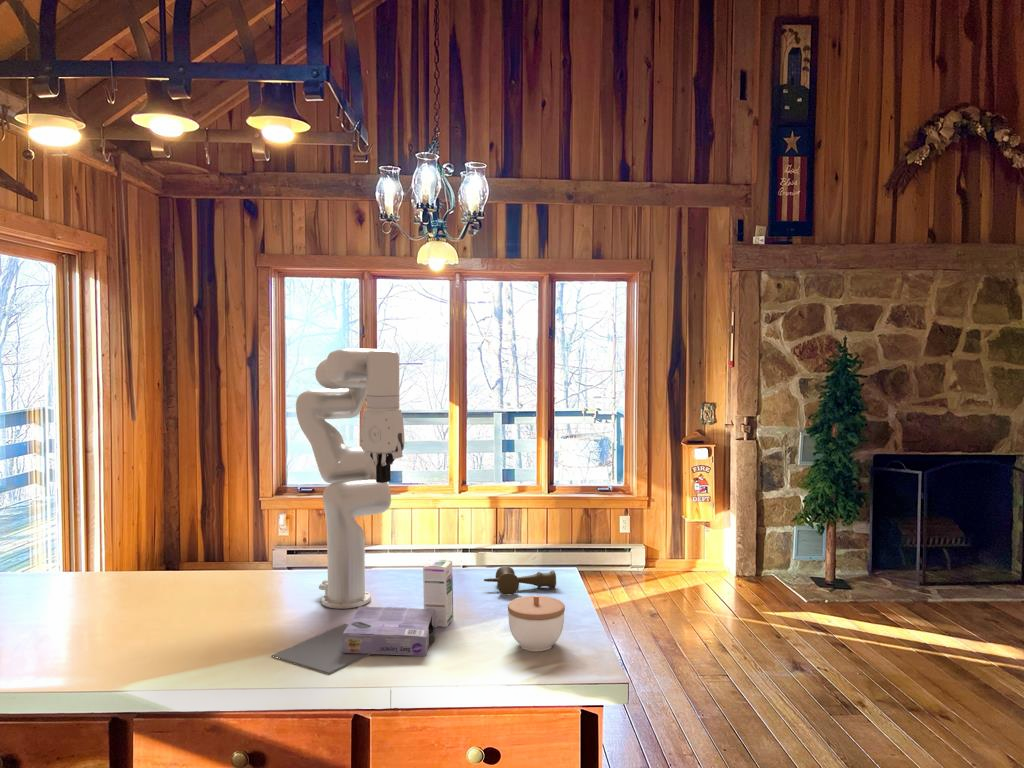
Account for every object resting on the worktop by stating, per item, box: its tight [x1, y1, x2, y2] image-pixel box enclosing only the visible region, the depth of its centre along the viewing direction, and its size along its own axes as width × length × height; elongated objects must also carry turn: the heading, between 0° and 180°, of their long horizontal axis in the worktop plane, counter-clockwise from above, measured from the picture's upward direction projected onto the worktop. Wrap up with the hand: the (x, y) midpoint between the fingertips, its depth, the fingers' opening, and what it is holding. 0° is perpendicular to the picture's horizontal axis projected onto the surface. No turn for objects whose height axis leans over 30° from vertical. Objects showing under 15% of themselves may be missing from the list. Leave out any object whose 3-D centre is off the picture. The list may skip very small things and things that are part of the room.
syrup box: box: [422, 559, 454, 628], centre depth 180 cm, size 6×6×14 cm
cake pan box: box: [342, 605, 436, 657], centre depth 169 cm, size 19×5×18 cm
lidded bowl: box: [507, 594, 566, 652], centre depth 166 cm, size 13×13×11 cm
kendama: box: [483, 565, 557, 595], centre depth 207 cm, size 6×10×20 cm
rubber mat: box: [271, 623, 371, 675], centre depth 165 cm, size 17×22×1 cm
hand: (383, 481), depth 175 cm, fingers closed
